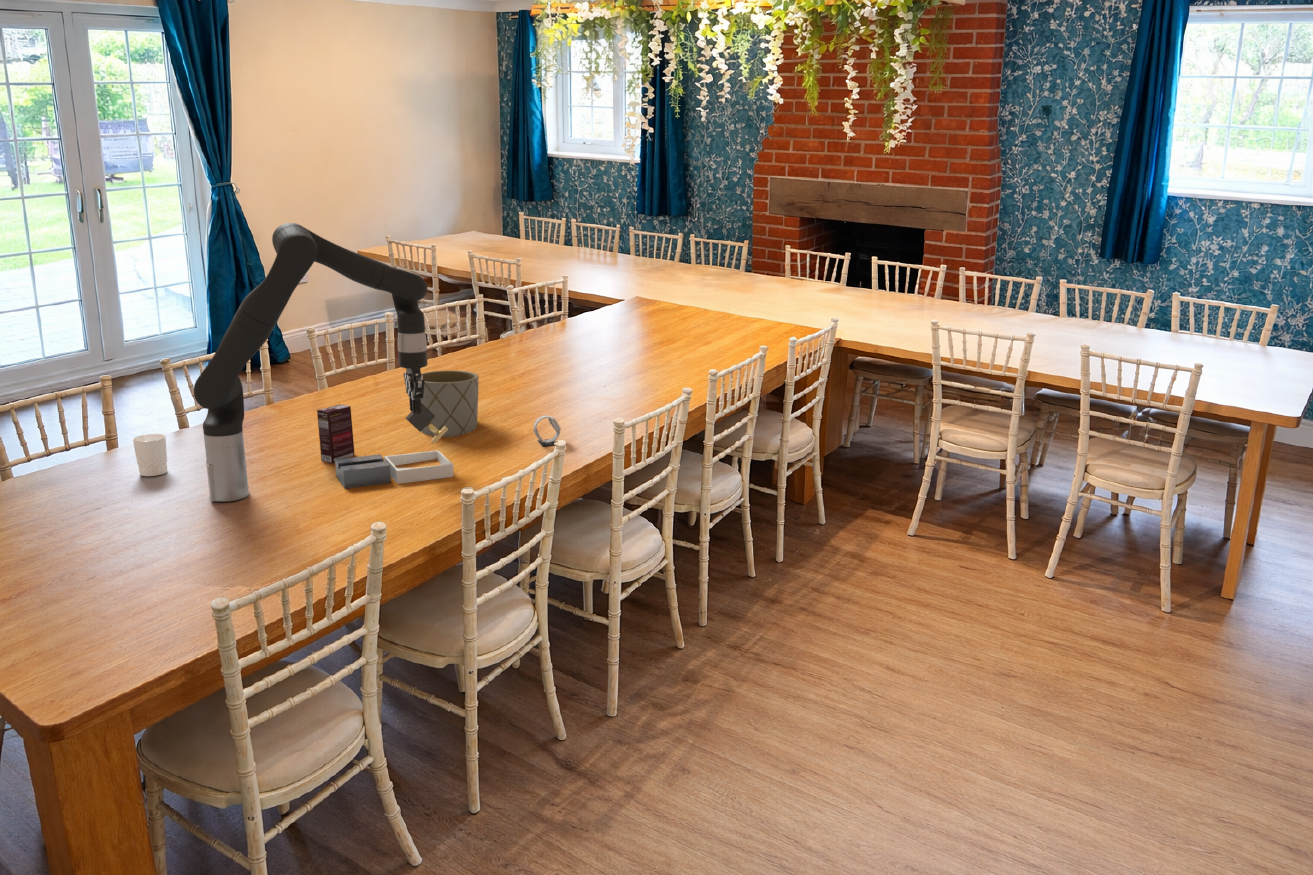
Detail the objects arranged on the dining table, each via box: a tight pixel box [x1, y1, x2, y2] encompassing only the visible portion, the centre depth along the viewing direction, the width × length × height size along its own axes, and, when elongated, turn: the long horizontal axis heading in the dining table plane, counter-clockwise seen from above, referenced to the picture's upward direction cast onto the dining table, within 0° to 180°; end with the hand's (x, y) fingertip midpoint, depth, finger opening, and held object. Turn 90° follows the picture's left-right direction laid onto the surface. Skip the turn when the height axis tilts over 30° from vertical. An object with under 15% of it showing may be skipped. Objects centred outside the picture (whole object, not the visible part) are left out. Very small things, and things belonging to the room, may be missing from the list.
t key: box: [404, 403, 448, 445], centre depth 273 cm, size 6×2×10 cm
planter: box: [418, 369, 479, 438], centre depth 307 cm, size 19×19×20 cm
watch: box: [533, 414, 562, 448], centre depth 296 cm, size 6×8×11 cm
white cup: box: [132, 433, 168, 477], centre depth 271 cm, size 8×8×10 cm
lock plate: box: [334, 454, 392, 489], centre depth 268 cm, size 12×12×5 cm
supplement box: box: [316, 403, 355, 465], centre depth 283 cm, size 9×5×16 cm, turn 149°
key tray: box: [383, 450, 455, 485], centre depth 275 cm, size 15×15×4 cm
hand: (415, 411), depth 271 cm, fingers closed on t key, 2 cm apart
